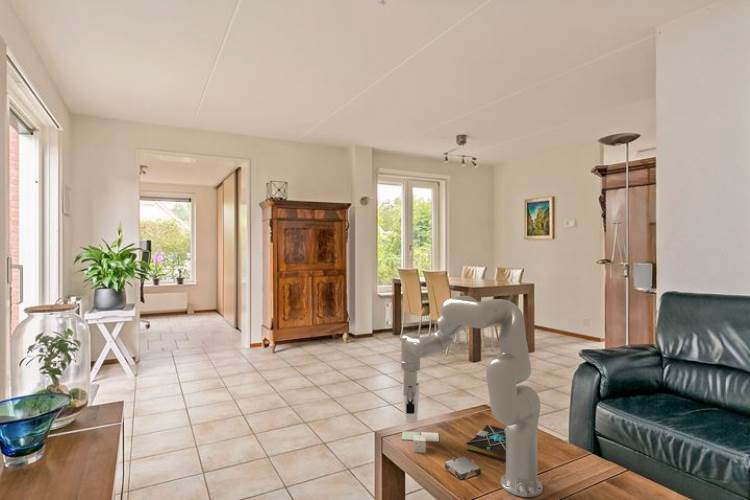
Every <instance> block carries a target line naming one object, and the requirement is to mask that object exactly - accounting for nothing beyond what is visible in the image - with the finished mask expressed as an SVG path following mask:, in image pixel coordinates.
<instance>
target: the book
mask: <svg viewBox="0 0 750 500" xmlns="http://www.w3.org/2000/svg"><path fill="white" fill-rule="evenodd" d="M465 445H467V447H468V448H466V451H468V452H472V453H476V454H479V455H483V456H486V457H489V458H493V459H495V460H496V459H497V460H499V461H502V462H504V463H506V427H505V428H501V427H498V426H494V425H491V424H489V423H487V424H486V426H485V427H484V428H483V429H482V430H481V429H480V430H479V431H478V432H477V433H476V435H475V437H473V438H471V440H469V441H466V442H465Z"/></svg>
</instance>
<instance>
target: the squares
mask: <svg viewBox="0 0 750 500" xmlns="http://www.w3.org/2000/svg"><path fill="white" fill-rule="evenodd" d="M414 435H425V436H426V442H434V443H435V442H436V443H437V442H438V443H439V442H440V439H439V432H429V431H428V432H426V431H425V432H424V431H423V432H422V431H406V430H405V431H402V434H401V441H412V442H413V439H414Z"/></svg>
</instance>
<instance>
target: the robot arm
mask: <svg viewBox="0 0 750 500" xmlns="http://www.w3.org/2000/svg"><path fill="white" fill-rule="evenodd" d="M440 311H441V315H440V316H439V317H438V318H437V320H436V324H437V328H438V330H437V331H435V333H433V334H431V335H426V336H422V337H420V335H419V334H417V333H404V334H402V335H401V339H400V341H401V343H400V347H401V348H400V351H401V352H400V353H401V355H400V357H401V358H400V363H401V364H400V365H401V366H400V367H401V368H400V369H401V370H402V371H403V377H402V378H403V383H402V384H403V395H404V396H406V395H407V403H406V413H407V414H414V396H415V395H416V386H417V383H418V372H419V371H420V370H421V359H423V358H427V357H430V356H434V355H438V354H440V353H443V352H444V351H445V350H447V348H448V347H449V346H451V344H452V343H453V342H454V340H455V338H456V334H458V333H460V331H461V330H462V329H464V327H469V328H475V329H486V328H491V327H495V326H500V330H499V336H498V343H499V350H500V355H498V356H496V357H494V358H492V359H491V360H490V361H489V363H488V365H487V367H486V383H487V388H488V389H487V390H488V398H489V404H490V409H491V413H492V415H493V417H494V419H495V420H496V421H497V422H498V423H499V424H501V425H504V426H505V428H506V462H505V474H503V475H502V476H501V478H500V485H501V487H502V488H503V489H504V490H505V491H506V492H508V493H509V494H512V495H515V496H517V497H521V498H523V497H524V498H534V497H538V496H540V495H541V494H542V493H543V490H544V487H543V483H542V482H541V480H539V479H538V477H539V476H538V439H539V438H538V437H539V436H538V435H539V434H538V430H539V418H540V414H541V413H540V412H541V400H540V397H539V394H538V392H536V390H535V389H534V388H532V387H530V386H529V385H525V384H524V385H523V384H522V385H518V384H520V383H523V382H525V381H527V380H528V379H529V378H530V377H531V373H532V366H531V359H530V354H529V353H530V352H529V347H528V346H529V345H528V341H527V335H526V323H525V317H524V315H523V312H522V310H521V309H520V307H519V306H518V305H516V304H515V303H513V301H510V300H508V299H503V298H495V299H489V300H482V301H478V300H477V299H475V298H474V297H472V296H471V295H461V296H453V297H449V298H447V299H446V300H445V301H444V302H443V303H442V305H441V309H440ZM408 393H409V395H408ZM412 393H413V395H412ZM412 397H413V399H412Z"/></svg>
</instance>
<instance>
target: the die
mask: <svg viewBox="0 0 750 500" xmlns="http://www.w3.org/2000/svg"><path fill="white" fill-rule="evenodd" d="M412 442H413V444H412V445H413V446H412V447H413V448H412V449H413V453H423V454H425V453H426V452H427V450H426V448H427V441H426V436H425V435H421V434H420V435H414V439H413V441H412Z"/></svg>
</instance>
